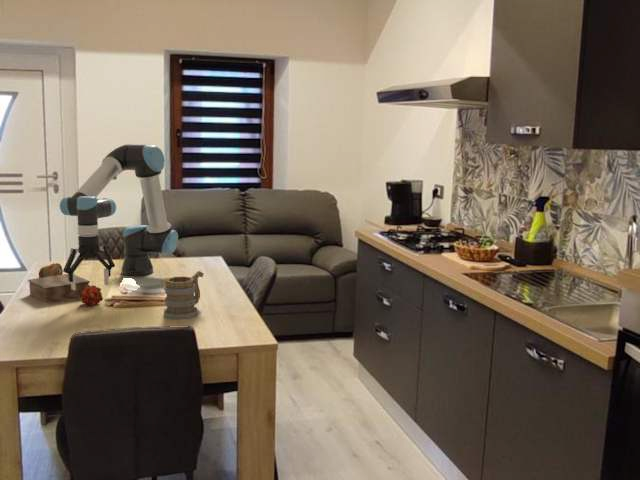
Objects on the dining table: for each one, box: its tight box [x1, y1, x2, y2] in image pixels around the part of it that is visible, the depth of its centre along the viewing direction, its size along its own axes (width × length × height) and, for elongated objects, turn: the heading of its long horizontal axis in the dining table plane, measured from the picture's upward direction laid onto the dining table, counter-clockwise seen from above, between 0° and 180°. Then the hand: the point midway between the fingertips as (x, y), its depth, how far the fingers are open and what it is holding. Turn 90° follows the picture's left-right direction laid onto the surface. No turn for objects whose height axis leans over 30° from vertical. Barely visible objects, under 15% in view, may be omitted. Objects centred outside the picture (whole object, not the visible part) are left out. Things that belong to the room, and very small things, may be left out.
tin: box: [38, 262, 64, 278], centre depth 299 cm, size 15×3×8 cm, turn 168°
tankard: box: [163, 270, 204, 320], centre depth 255 cm, size 20×13×15 cm, turn 148°
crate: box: [28, 273, 90, 305], centre depth 277 cm, size 19×19×7 cm
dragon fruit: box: [79, 284, 104, 308], centre depth 264 cm, size 8×8×12 cm
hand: (90, 287), depth 263 cm, fingers open, 13 cm apart
